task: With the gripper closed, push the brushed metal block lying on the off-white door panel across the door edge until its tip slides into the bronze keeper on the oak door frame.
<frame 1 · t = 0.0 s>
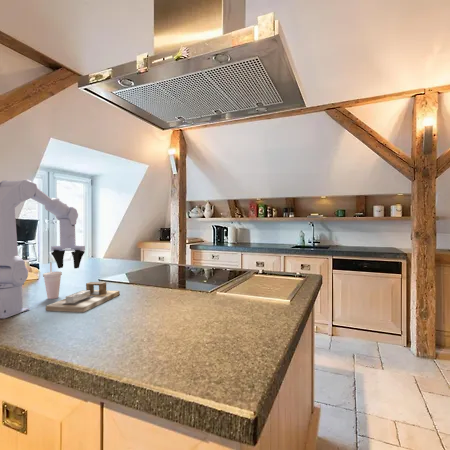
hand: (68, 268, 123), 10 cm above the table, tool pointing down, fingers open, 7 cm apart
brushed metal block: (78, 296, 103), point 3 cm above the table, slide at 0.0 cm
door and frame: (85, 301, 107), on the table
smoothie: (53, 298, 114), on the table
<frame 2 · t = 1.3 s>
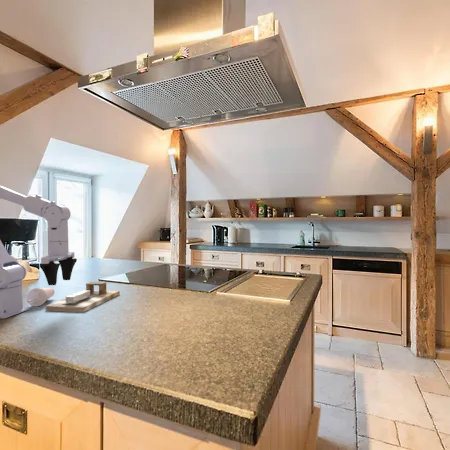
hand: (59, 282, 97), 9 cm above the table, tool pointing down, fingers open, 7 cm apart
smoothie: (49, 292, 112), point 3 cm above the table, touching arm
everything else where it was.
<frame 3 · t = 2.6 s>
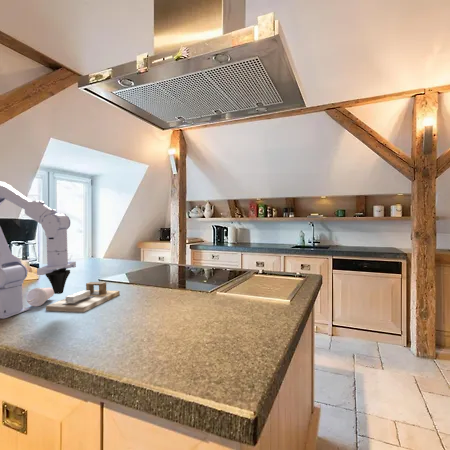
hand: (58, 293, 94), 7 cm above the table, tool pointing down, fingers closed
nothing on the table moved.
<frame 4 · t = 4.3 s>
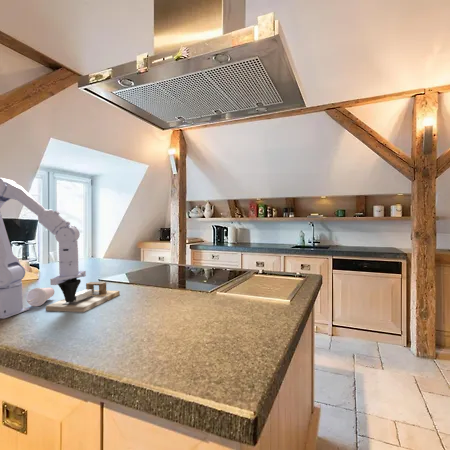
hand: (69, 301, 99), 2 cm above the table, tool pointing down, fingers closed
brushed metal block: (80, 295, 105), point 3 cm above the table, slide at 1.2 cm, touching gripper
everything else where it was.
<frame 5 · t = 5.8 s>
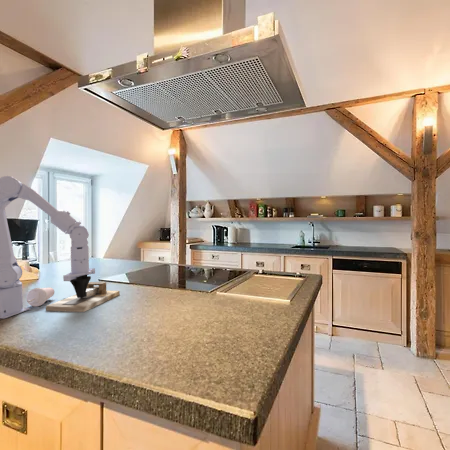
hand: (80, 297, 105), 2 cm above the table, tool pointing down, fingers closed
brushed metal block: (90, 291, 110), point 3 cm above the table, slide at 6.9 cm, touching gripper
everything else where it was.
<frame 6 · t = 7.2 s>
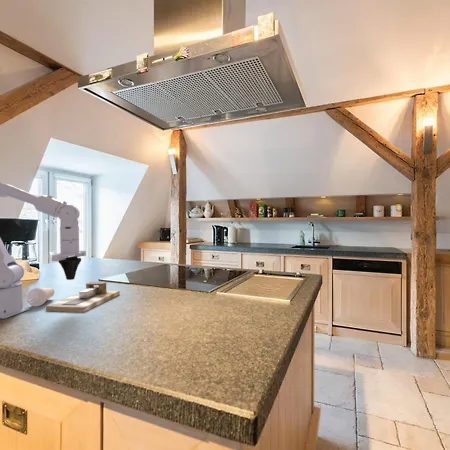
hand: (70, 279, 101), 10 cm above the table, tool pointing down, fingers closed
brushed metal block: (90, 291, 110), point 3 cm above the table, slide at 6.9 cm
everything else where it was.
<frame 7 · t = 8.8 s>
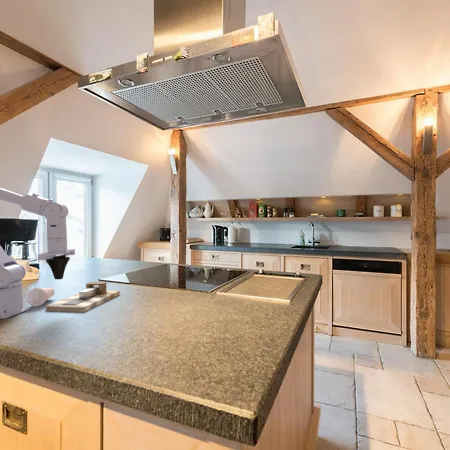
hand: (58, 279, 98), 10 cm above the table, tool pointing down, fingers closed
nothing on the table moved.
at the end: brushed metal block slide at 6.9 cm; smoothie moved 3.3 cm from its start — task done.
